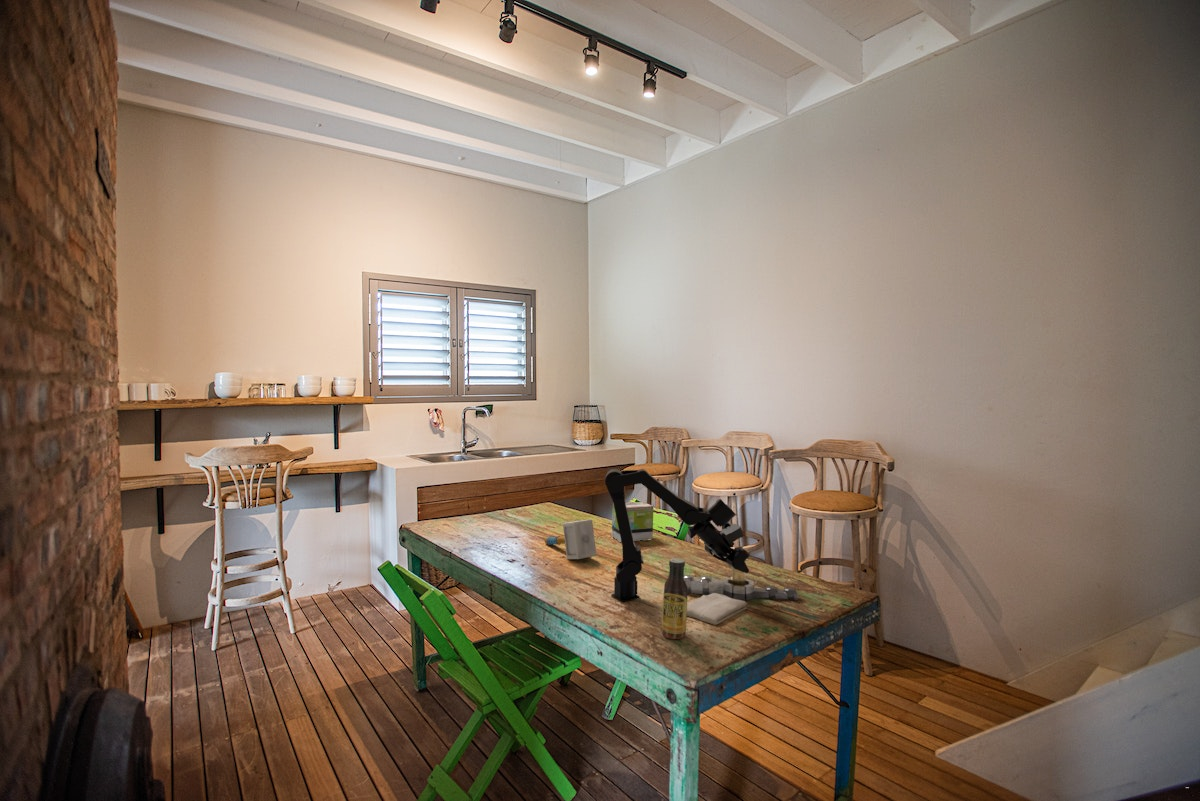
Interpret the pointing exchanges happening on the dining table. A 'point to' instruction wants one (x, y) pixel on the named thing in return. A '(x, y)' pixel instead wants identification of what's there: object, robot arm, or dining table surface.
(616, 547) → the dining table surface
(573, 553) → the hammer
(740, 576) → the brass pin
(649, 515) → the tea box
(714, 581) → the chain joint
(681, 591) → the sauce bottle
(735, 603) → the washcloth
